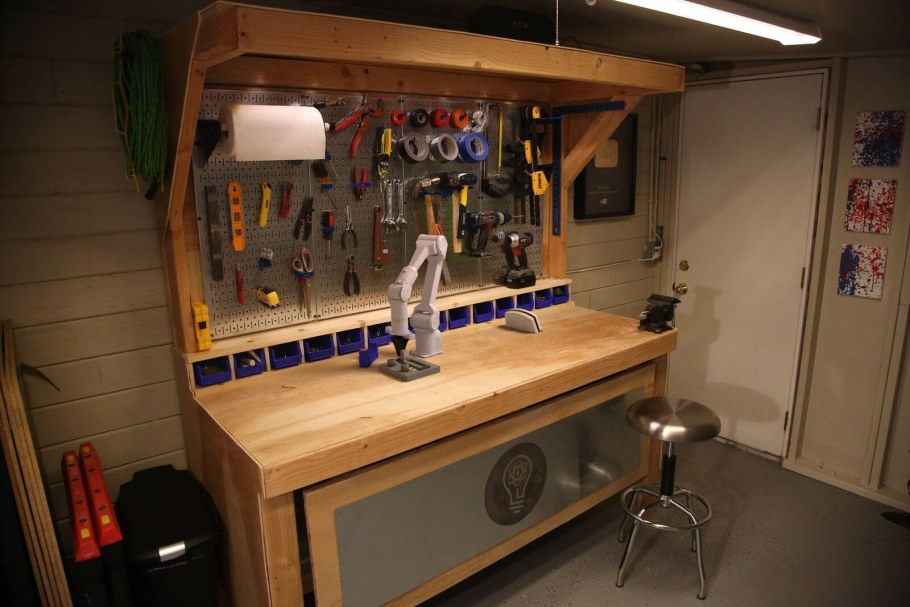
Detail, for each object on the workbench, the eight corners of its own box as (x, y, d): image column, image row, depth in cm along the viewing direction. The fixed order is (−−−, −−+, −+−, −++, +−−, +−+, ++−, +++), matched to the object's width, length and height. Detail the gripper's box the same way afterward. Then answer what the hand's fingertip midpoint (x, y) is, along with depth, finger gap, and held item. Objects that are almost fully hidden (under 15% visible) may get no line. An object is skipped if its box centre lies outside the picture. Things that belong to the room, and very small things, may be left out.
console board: (411, 360, 219) (410, 350, 218) (440, 371, 207) (440, 360, 206) (379, 369, 210) (378, 358, 209) (407, 381, 198) (407, 370, 197)
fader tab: (406, 359, 214) (405, 348, 213) (409, 360, 212) (409, 349, 211) (400, 361, 212) (399, 349, 211) (403, 362, 211) (403, 351, 210)
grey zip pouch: (544, 330, 255) (539, 310, 251) (537, 336, 252) (532, 316, 248) (513, 323, 267) (508, 304, 262) (506, 329, 264) (501, 309, 259)
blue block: (366, 356, 225) (366, 341, 223) (378, 357, 224) (377, 341, 222) (355, 367, 213) (354, 351, 212) (367, 368, 212) (366, 351, 211)
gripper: (377, 316, 213) (379, 353, 216) (402, 324, 203) (404, 363, 206) (394, 313, 218) (395, 349, 221) (419, 320, 207) (420, 358, 210)
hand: (400, 355), depth 214 cm, fingers closed
